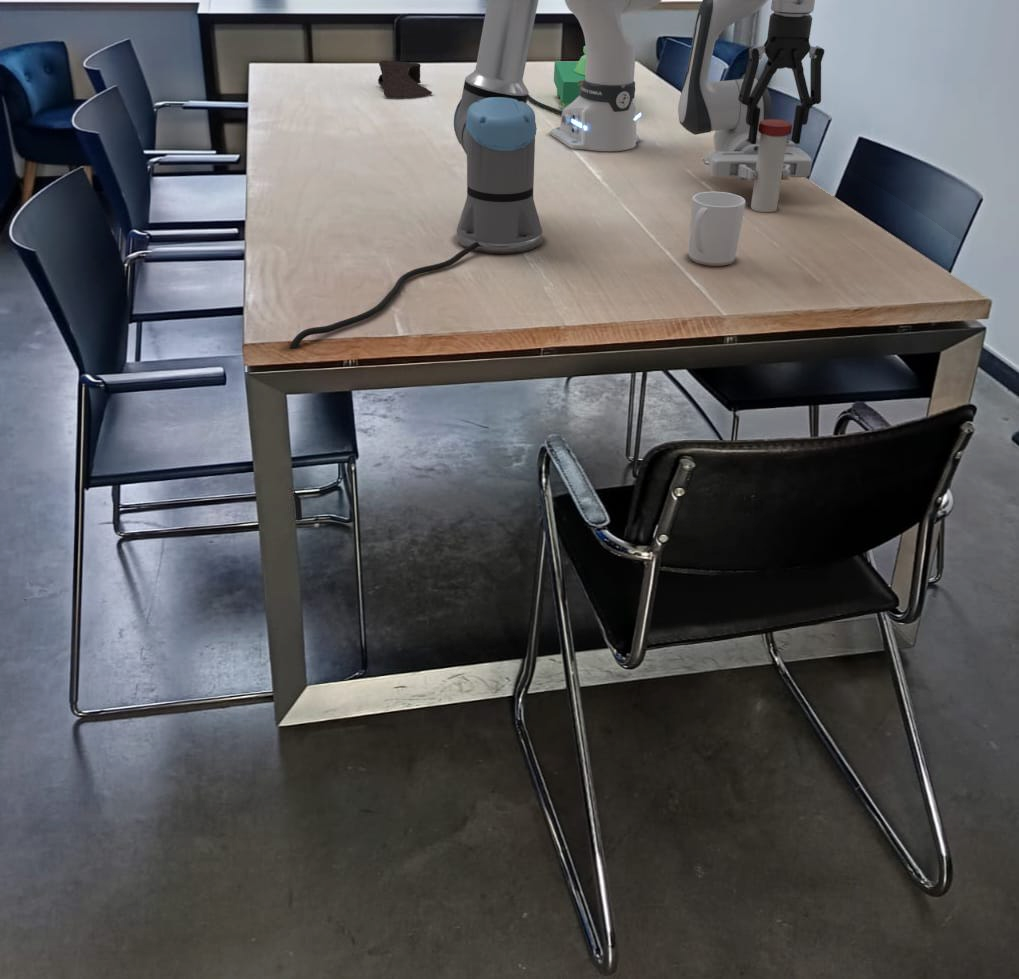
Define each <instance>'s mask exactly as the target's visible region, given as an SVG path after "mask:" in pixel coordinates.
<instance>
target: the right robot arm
mask: <svg viewBox="0 0 1019 979" xmlns="http://www.w3.org/2000/svg"><path fill="white" fill-rule="evenodd" d="M662 1H663V0H564V2H565V5H566V7H567V8H568V10H569V11H570V12H571V13H572V14H573V15H574V16H575V18H576V19H577V20H578V23H579V25H580V27H581V30H582V32H583V37H584V43H585V46H586V69H585V79H584V80H583V81H578V82H583V83H582V84H579V85H578V86H581V90H580V93H579V95H580V96H579V97H577V98H576V99H575V100H574V101H573V102H572V103H571V104H569V105H568V106H567V107H566V108H564V110H563V111H562V109H558V108H555V107H553V106H549V105H547V104H545V103H542V102H540V101H538V100H536V99H535V98H533V97H531V95H530V94H528V98H527V101H529V102H530V103H531V104H534V105H535V106H538V107H540V108H543V109H545V110H547V111H550V112H553V113H556V114H557V115H560V116H561V118H560V126H559V127H555V128H553V129H551V130H550V132H549V135H551V136H552V137H554V138H555V139H556V140H558V141H559V142H561V143H562V144H564V145H565V146H567V147H569V149H574V150H588V151H597V152H619V151H627V150H631V149H634V148H635V147H637V143H638V142H639V141H640V135H639V134H637V120H638V119H639V118H640V117H642V112H639V113H638V114H637V105H636V104H635V103H634V101H633V100H634V99H635V94H636V81H635V67H636V53H637V48H636V44H635V42H634V40H633V39H632V38H630V37H629V36H628V35H627V34H625V32H624V29H623V24H622V15H632V14H641V13H642V12H645V11H647V10H650V9H652V8H655V7H657V6H659V4H660V3H661V2H662ZM767 2H769V0H702V1H701V3H700V6H699V8H698V11H697V15H696V20H695V24H694V29H693V35H692V40H691V44H690V45H691V46H690V49H689V55H688V62H687V65H686V66H687V67H686V72H685V76H684V81H683V85H682V89H681V92H680V96H679V100H678V106H677V113H678V115H677V116H678V121H679V124H680V125H681V126H682V128H684V129H685V130H686V131H688V132H689V133H691V134H692V135H694V136H696V135H702V134H706V133H711V132H714V134H713V147H714V150H715V151H711V152H710V153H709V155H707V156H703V157H702V159H701V161H702V163H703V164H705V165H707V171H708V174H709V175H710V177H712V178H714V179H740V180H743V181H748V182H749V181H754V180H757V175H758V171H757V170H756V165H757V158H758V150H759V143H760V136H761V133H760V132H759V130H758V131H757V139H756V144H751V143H750V142H749V141H748V136H749V128H750V125H748V124H746V114H747V105H744V104H742V103H741V102H740V101H739V100H738V98H739V94H740V90H741V87H742V83H743V80H744V78H737V79H729V80H720V81H719V80H717V81H709V74H710V69H711V64H712V60H713V59H712V58H713V53H714V49H715V44H716V41H717V39H718V38H719V36H720V35H721V33H723V32H724V30H727V28H729V27H730V26H732V25H734V24H735V23H737V22H740V21H741V20H744V19H746V18H748V17H749V16H751V15H753V14H755V13H756V12H757V11H759V10H760V9H762V8H763V7H764V6H765V5H766V4H767ZM758 80H759V78H757V77H755V79H754V82H753V86H752V90H751V93H752V91H753V89H754V87H755V86H756V84H757V82H758ZM751 93H750V95H751ZM757 106H758V107H759V108H760V116H759V124H760V121H762V120H767V119H772V112H773V111H772V110H773V109H772V106H773V105H772V98H771V94H770V92H769V90H768V87H767V88H766V89H765V91H764V93H763V95H762V97H761V99H760V101H759V103H758V105H757ZM759 124H758V128H759ZM795 145H796V144H795V143H794V142H793V141H791V140H787V144H786V151H785V157H784V164H783V171H782V177H781V181H785V180H786V181H789V180H790V179H791V178H808V177H810V175H811V171H812V166H813V160H812V159H813V158H812V157H811V156H810V155H809V154H808V153H807V152H805V151H804V150H803V149H801V148H799V147H796V146H795Z"/></svg>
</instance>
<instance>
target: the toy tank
mask: <svg viewBox="0 0 1019 979" xmlns="http://www.w3.org/2000/svg"><path fill="white" fill-rule="evenodd" d="M582 51H583V55H582V56H581V57H580V59H579V60H578V61H562V60H561V61H560V60H559V61H558V60H556V61H555V60H554V65H553V66H554V68H553V83H554V85H555V88H556V96H557V98H559V99H560V103H561V111H563V110H564V108H566V107H567V106H568V105H569V104H571V103H572V102H573V101H574V100H575V99H576V98H577V97H579V96H580V95H579V93H580V90H581V86H578V85H579V84H582V83H583V82H578V81H583V80H584V79H585V69H586V45H584V46H583V49H582Z"/></svg>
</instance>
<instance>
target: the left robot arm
mask: <svg viewBox="0 0 1019 979" xmlns="http://www.w3.org/2000/svg"><path fill="white" fill-rule="evenodd" d="M815 2H816V0H771V4H770V9H771V11H772V12H773V13H771V14H770V15H769V21H768V29H767V38H766V41H765V42H764V44H763V45H760V46H753V45H751V46H749V48H748V62H747V66H746V68H745V72H744V76H743V79H744V80H743V83H742V87H741V90H740V94H739V98H738V100H739V101H740V102H741V103H742V104H744V105H747V114H746V124H748V125H750V128H749V136H748V141H749V142H750V143H751V144H756V139H757V131H758V124H759V116H760V108H759V107H758V106H757V105H758V103H759V101H760V99H761V97H762V95H763V93H764V91H765V89H766V88H767V89H768V86H769V84H770V82H771V80H772V78H773V76H774V75H775V74H776V72H777V70H782V69H790V70H791V71H792V73H793V78H794V81H795V85H796V90H797V94H798V97H799V102H800V104H797V105H796V106H795V112H794V118H793V124H792V130H791V139H790V141H792V142H794V144H795V145H799V144H800V143H801V137H802V131H803V126H806V125H807V123H808V121H809V115H810V110H811V108H813V106H814V105H819V104H821V102H822V62H823V58H824V55H825V49H824V48H823V47H821V46H819V45H816V46H813V45H811V43H810V37H811V31H812V23H813V17H812V15H811V14H812V13H813V12H814V9H815ZM538 5H539V0H487V4H486V8H485V15H484V19H483V25H482V30H481V36H480V41H479V48H478V52H477V59H476V64H475V68H474V71H473V72H471V73H470V74H468V75H467V76H465V78H464V84H463V88H462V94H461V98H460V100H459V102H458V104H457V105H456V108H455V111H454V113H453V114H454V115H453V130H454V133H455V137H456V139H457V141H458V144H459V145H460V146H461V148H462V149H463V152H464V153H465V155H466V192H467V193H466V198H465V202H464V205H463V209H462V211H461V214H460V218H459V220H458V224H457V227H456V241H457V243H458V244H459V245H461V246H462V247H464V249H462V250H460V251H459V252H458V253H456V254H455V255H454V256H452V257H451V258H449V259H447V260H445V261H442V262H438V263H434V264H431V265H426V266H422V267H421V266H420V267H417V268H414V269H412V270H409V271H407V272H406V273H403V274H402V275H401V276H400V277H399V278H398V279H397V281H396V283H395V284H394V286H393V288H392V289H390V291H389V292H388V293H387V294H386V295H385V297H383V299H382V300H381V301H380V302H379V303H378V304H377V305H375V306H374V307H372V308H371V309H369V310H367V311H365V312H362V313H360V314H357V315H355V316H352V317H349V318H346V319H343V320H339V321H337V322H334V323H332V324H328V325H323V326H315V327H309V328H306V329H304V330H302V331H300V332H299V333H298V334H296V336H294V338H293V339H292V341H291V342H290V344H289V347H288V349H290V350H294V349H297V348H298V346H299V344H300V343H301V342H302V341H303V340H304V339H305V338H306V337H309V336H313V335H320V334H328V333H331V332H334V331H336V330H340V329H342V328H345V327H348V326H351V325H354V324H358V323H360V322H362V321H365V320H367V319H369V318H371V317H373V316H374V315H376V314H378V313H379V312H381V311H382V310H383V309H385V308H386V307H387V305H389V304H390V302H391V301H392V300H393V298H395V296H396V295H397V294H398V293H399V291H400V290H401V288H402V286H403V285H404V283H405V282H406V281H408V280H409V279H411V278H412V277H415V276H417V275H421V274H425V273H429V272H430V273H431V272H434V271H439V270H442V269H445V268H447V267H450V266H452V265H454V264H456V263H457V262H458V261H459V260H461V259H462V258H463V257H465V256H467V255H468V254H469V253H471V252H472V251H475V252H479V253H486V254H497V255H499V254H500V255H506V254H507V255H508V254H517V253H524V252H527V251H530V250H533V249H536V248H538V247H539V246H540V245H541V244H542V243H543V229H542V224H541V221H540V220H541V219H540V218H539V214H538V213H539V212H538V210H537V206H536V204H535V199H534V184H535V181H534V180H535V157H536V156H535V154H536V152H535V151H536V135H537V123H536V114H535V111H534V109H533V108H532V106H530V105H529V104H528V99H527V98H528V95H529V94H530V92H529V90H528V87H527V86H526V85H525V83H524V74H525V69H526V64H527V59H528V54H529V50H530V44H531V40H532V35H533V30H534V25H535V21H536V20H535V19H536V14H537V11H538V10H537V9H538ZM764 54H765V55H766V58H767V61H766V62H765V65H764V67H763V70H762V72H761V74H760V76H759V77H758V79H759V80H758V82H757V84H756V86H755V87H754V89H753V91H752V93H751V90H752V86H753V82H754V79H755V78H756V75H757V71H758V67H759V64H760V60H761V59H762V58H763V55H764ZM807 55H808V57H809V58H810V63H809V64H810V67H809V69H810V72H809V73H810V76H809V77H810V82H809V83H810V84H809V85H810V87H809V88H810V93H809V89H808V85H807V84H808V83H807V80H806V77H805V71H804V70H805V69H804V65H803V60H804V59H805V57H806V56H807ZM750 93H751V95H750ZM292 491H293V500H294V511H295V521H298V522H300V521H302V520H303V511H302V510H303V509H302V498H301V497H300V496H299V495H298V493H297V492H296V491H295V489H293V490H292Z"/></svg>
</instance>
